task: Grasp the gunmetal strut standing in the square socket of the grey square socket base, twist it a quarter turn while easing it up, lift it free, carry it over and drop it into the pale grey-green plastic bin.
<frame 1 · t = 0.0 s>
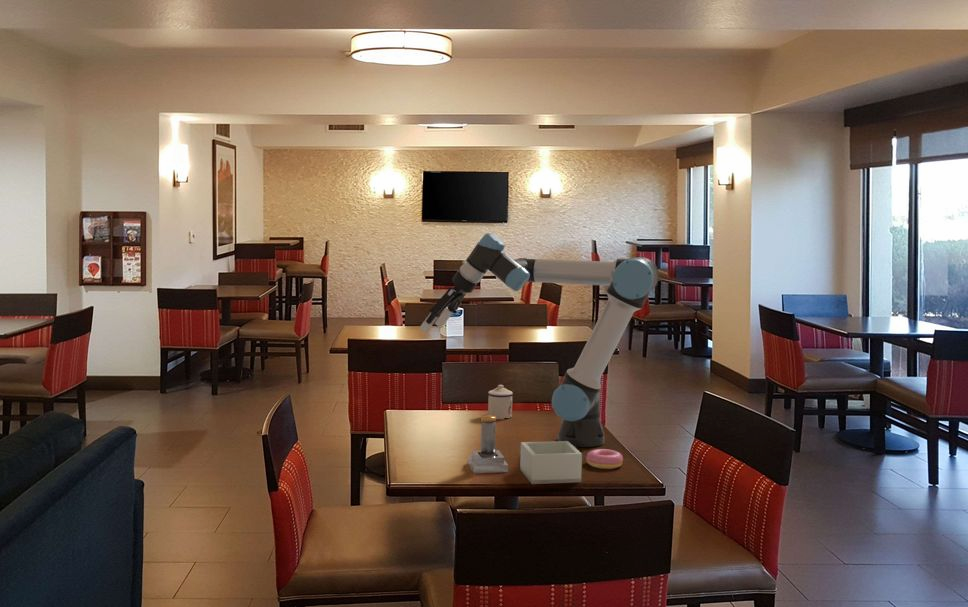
hand: (430, 328, 291), 36 cm above the table, tool tilted 35°, fingers open, 13 cm apart
grey square socket base: (487, 467, 260), on the table
doughnut: (604, 466, 266), on the table
bin: (550, 475, 253), on the table
strut: (487, 460, 260), point 2 cm above the table, touching grey square socket base
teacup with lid: (499, 416, 327), on the table
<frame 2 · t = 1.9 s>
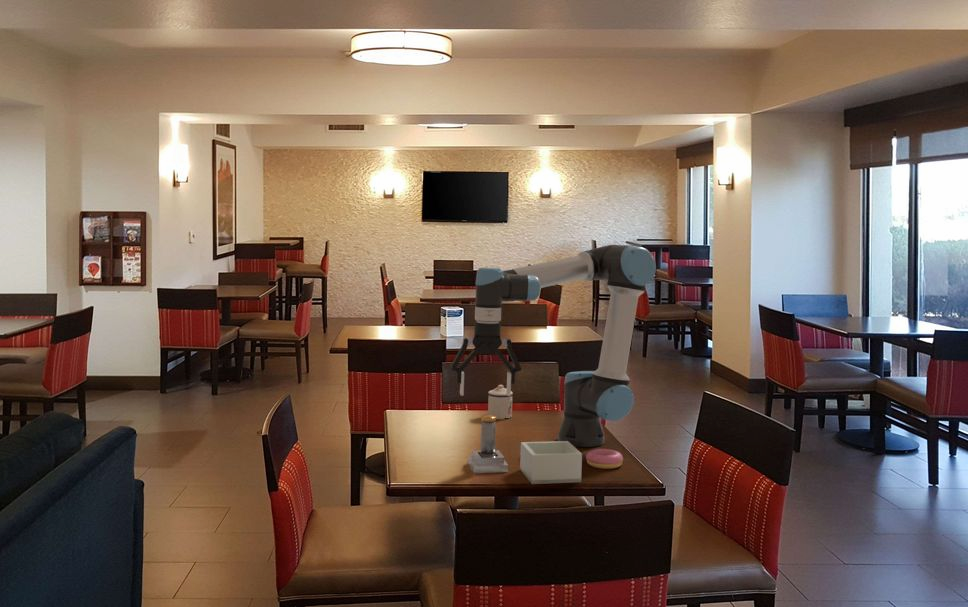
hand: (485, 395, 259), 21 cm above the table, tool pointing down, fingers open, 13 cm apart
nothing on the table moved.
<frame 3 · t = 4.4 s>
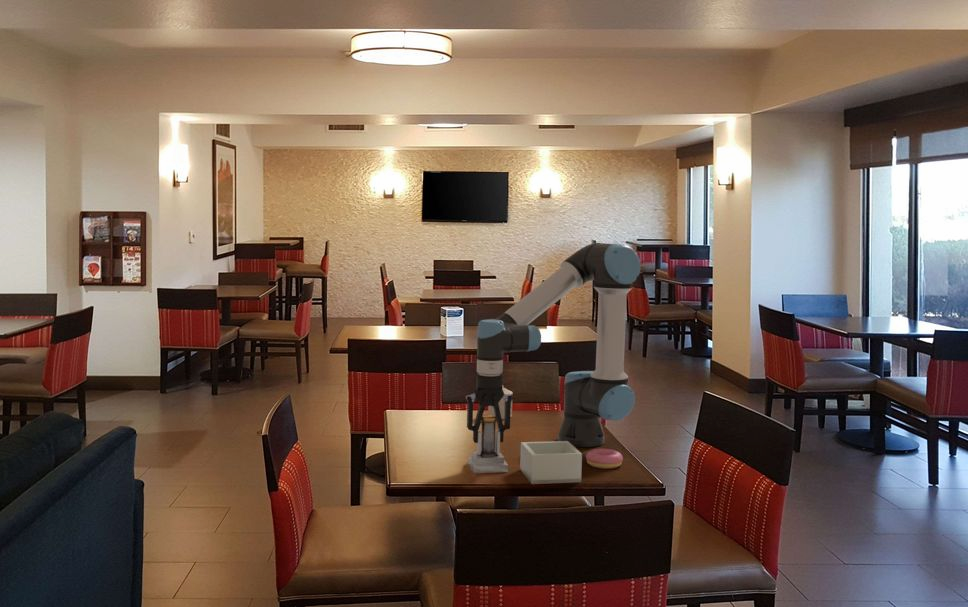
hand: (487, 453, 260), 4 cm above the table, tool pointing down, fingers closed on grey square socket base, 5 cm apart
nothing on the table moved.
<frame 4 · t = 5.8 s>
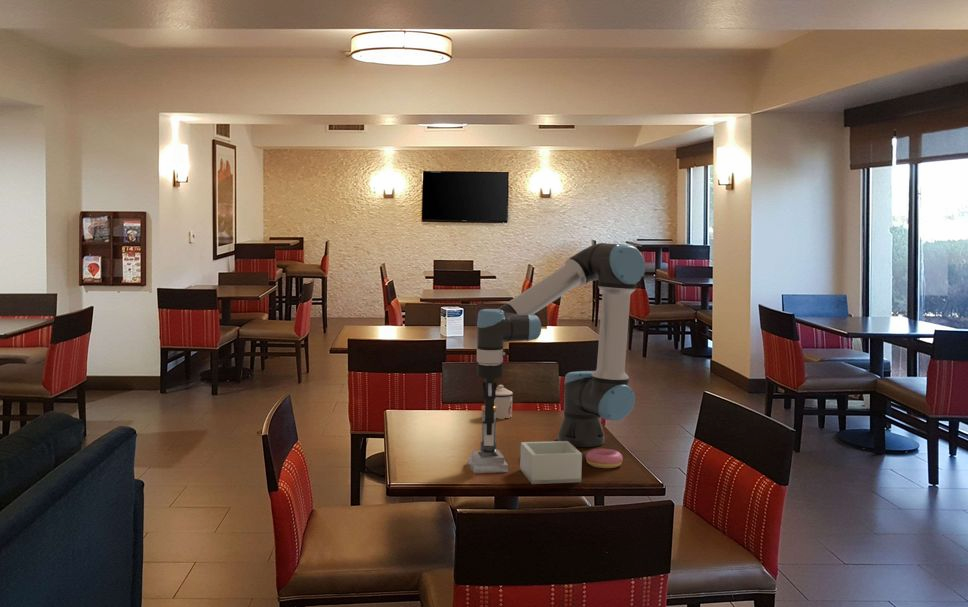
hand: (488, 442, 260), 7 cm above the table, tool pointing down, fingers closed on strut, 5 cm apart
strut: (488, 450, 260), point 5 cm above the table, touching gripper
everything else where it was.
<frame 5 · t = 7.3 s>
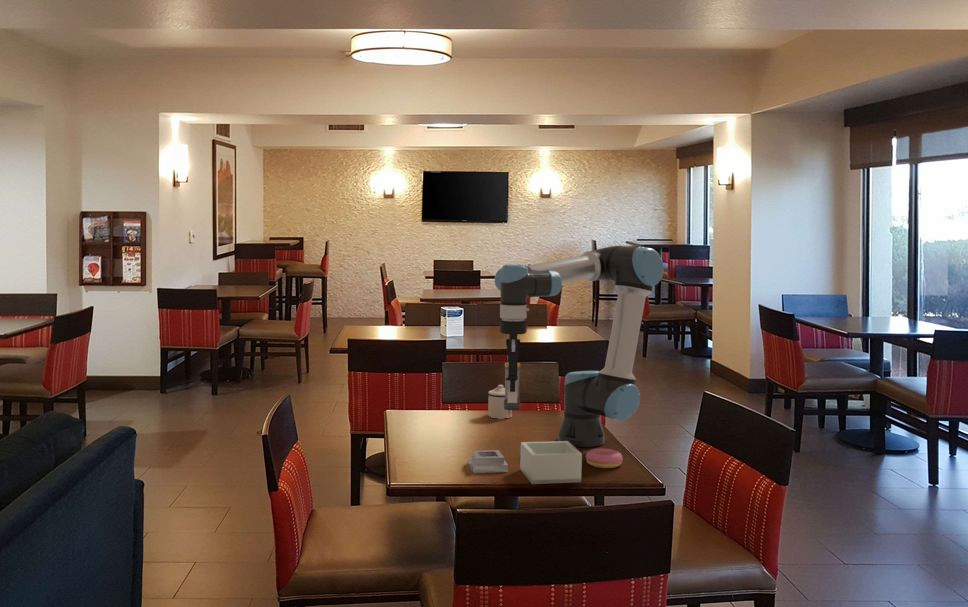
hand: (512, 400, 256), 20 cm above the table, tool pointing down, fingers closed on strut, 5 cm apart
strut: (511, 408, 256), point 18 cm above the table, touching gripper
everything else where it was.
when the fingers open (9 cm above the table, at t = 9.9 s): strut drops 5 cm, resting on bin.
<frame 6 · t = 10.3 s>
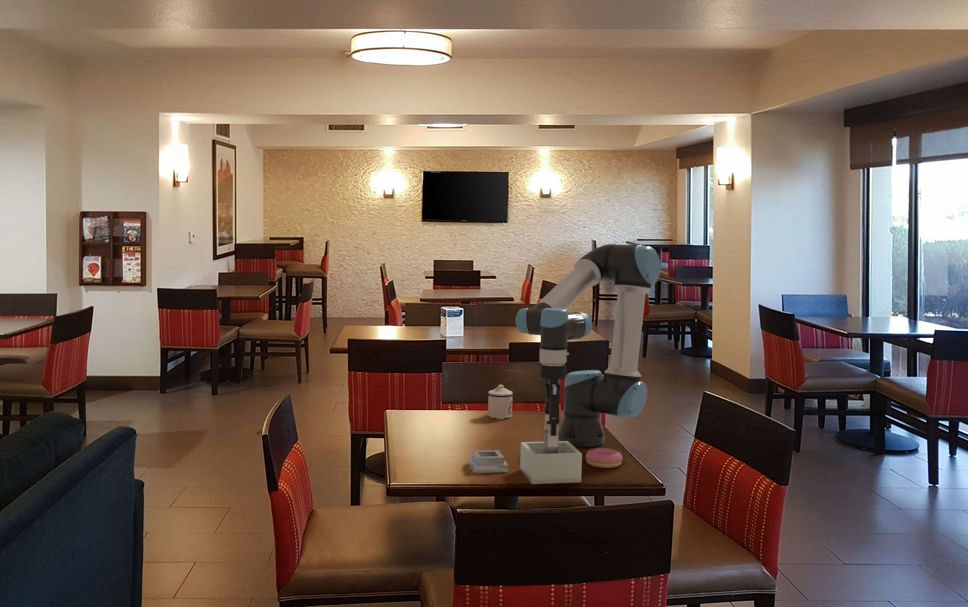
hand: (550, 441, 252), 10 cm above the table, tool pointing down, fingers open, 10 cm apart
strut: (550, 471, 254), point 1 cm above the table, touching bin
everything else where it was.
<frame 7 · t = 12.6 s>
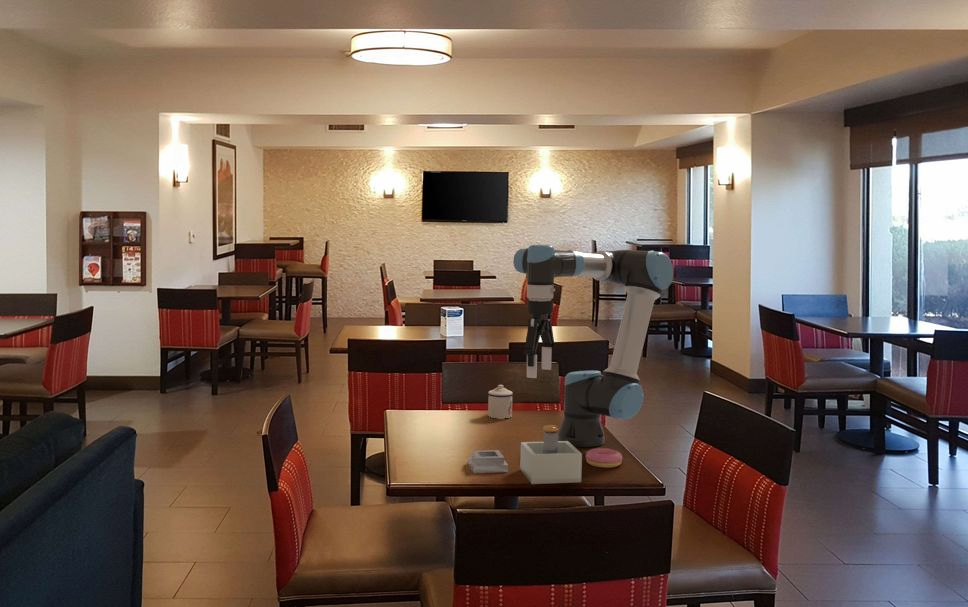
hand: (539, 373, 256), 28 cm above the table, tool pointing down, fingers open, 13 cm apart
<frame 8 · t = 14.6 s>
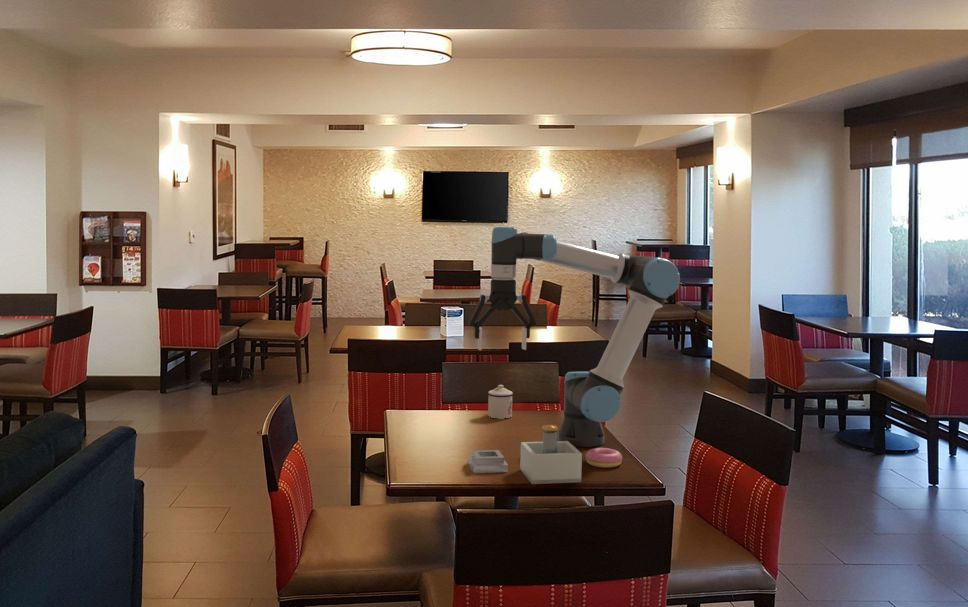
hand: (501, 349, 270), 33 cm above the table, tool pointing down, fingers open, 13 cm apart
at the end: strut inside the target area on the bin (0.2 cm from its centre), point 1.1 cm above the bin's base; the gripper is holding nothing; strut touching bin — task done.
